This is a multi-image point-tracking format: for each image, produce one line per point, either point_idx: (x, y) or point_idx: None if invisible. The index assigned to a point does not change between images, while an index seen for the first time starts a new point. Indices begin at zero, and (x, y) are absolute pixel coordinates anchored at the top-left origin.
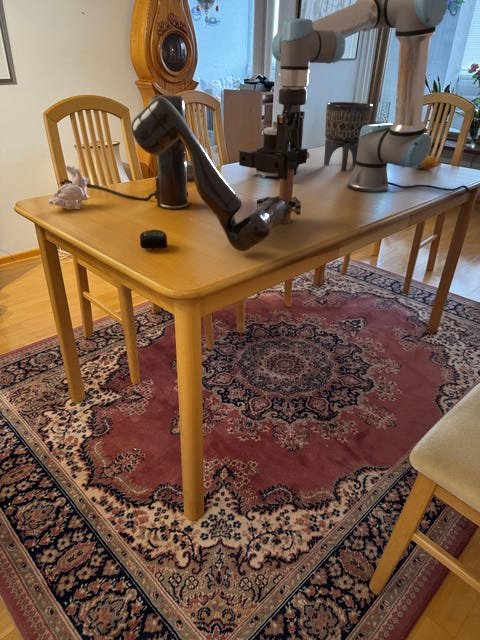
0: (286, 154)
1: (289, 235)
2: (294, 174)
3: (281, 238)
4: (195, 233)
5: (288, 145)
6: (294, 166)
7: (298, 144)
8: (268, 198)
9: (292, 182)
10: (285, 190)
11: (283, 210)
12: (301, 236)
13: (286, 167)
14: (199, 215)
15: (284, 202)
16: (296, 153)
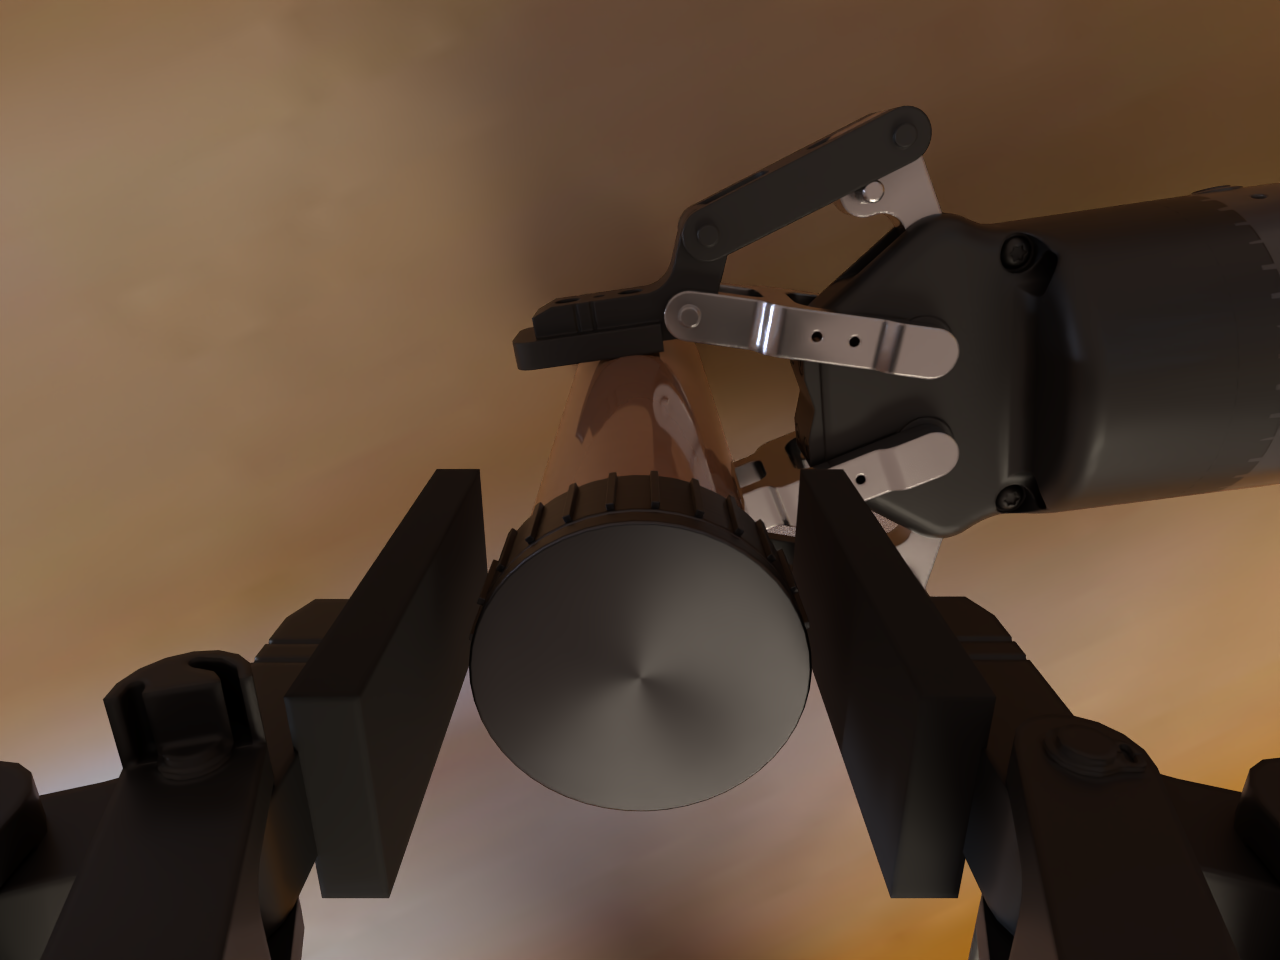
0: (1098, 733)
1: (993, 148)
2: (479, 485)
3: (1100, 178)
4: (1222, 759)
5: (1097, 952)
6: (657, 491)
7: (141, 875)
8: (1099, 482)
9: (652, 412)
10: (726, 442)
11: (1207, 211)
12: (973, 28)
13: (903, 563)
14: (850, 912)
15: (1084, 276)
16: (368, 689)
